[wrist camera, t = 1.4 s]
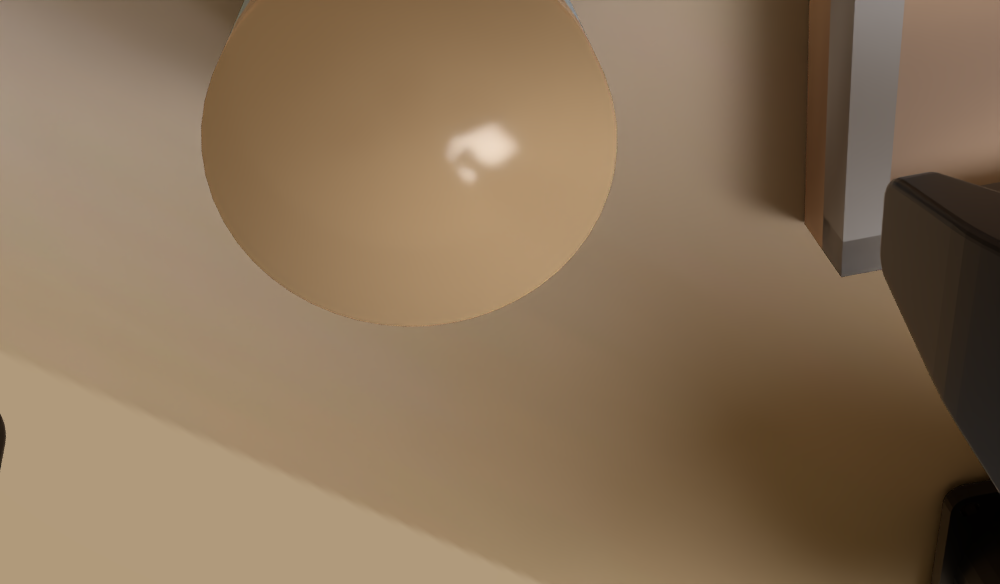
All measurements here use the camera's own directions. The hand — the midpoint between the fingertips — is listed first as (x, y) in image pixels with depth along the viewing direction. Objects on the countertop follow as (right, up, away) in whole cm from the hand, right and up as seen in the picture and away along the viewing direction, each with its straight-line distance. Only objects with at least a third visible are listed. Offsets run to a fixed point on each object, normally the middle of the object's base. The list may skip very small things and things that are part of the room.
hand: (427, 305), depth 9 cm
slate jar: (-1, +5, +7) cm, 9 cm away
